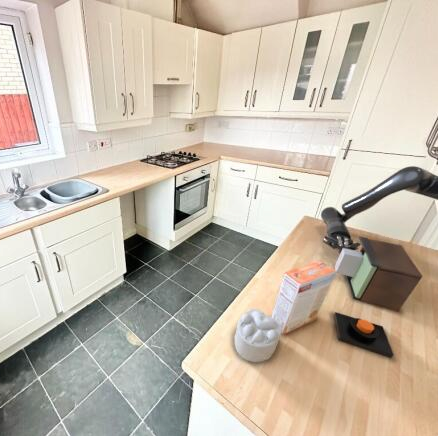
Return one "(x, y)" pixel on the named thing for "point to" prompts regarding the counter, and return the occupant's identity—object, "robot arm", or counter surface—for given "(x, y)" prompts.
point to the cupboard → (387, 275)
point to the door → (355, 269)
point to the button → (365, 326)
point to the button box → (362, 335)
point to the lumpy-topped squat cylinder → (257, 336)
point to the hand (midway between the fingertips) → (344, 254)
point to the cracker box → (302, 295)
